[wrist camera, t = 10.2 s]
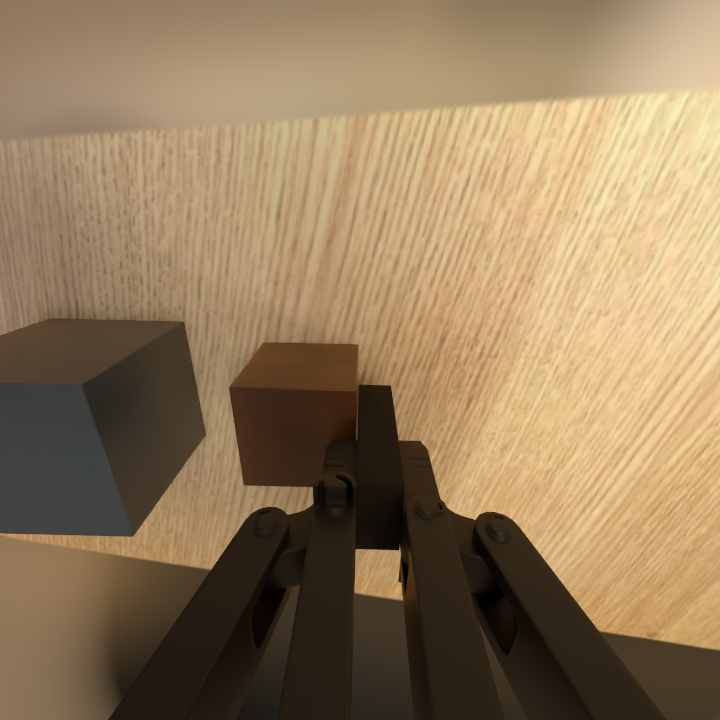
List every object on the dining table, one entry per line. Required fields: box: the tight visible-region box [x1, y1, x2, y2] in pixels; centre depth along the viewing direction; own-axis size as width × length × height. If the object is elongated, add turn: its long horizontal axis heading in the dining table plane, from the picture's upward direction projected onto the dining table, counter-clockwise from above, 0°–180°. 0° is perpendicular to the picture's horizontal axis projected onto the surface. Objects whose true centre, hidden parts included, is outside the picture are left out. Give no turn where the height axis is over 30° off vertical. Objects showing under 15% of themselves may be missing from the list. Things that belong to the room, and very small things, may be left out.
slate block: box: [0, 319, 205, 537], centre depth 16 cm, size 7×7×7 cm
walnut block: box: [229, 343, 359, 487], centre depth 17 cm, size 5×5×5 cm
